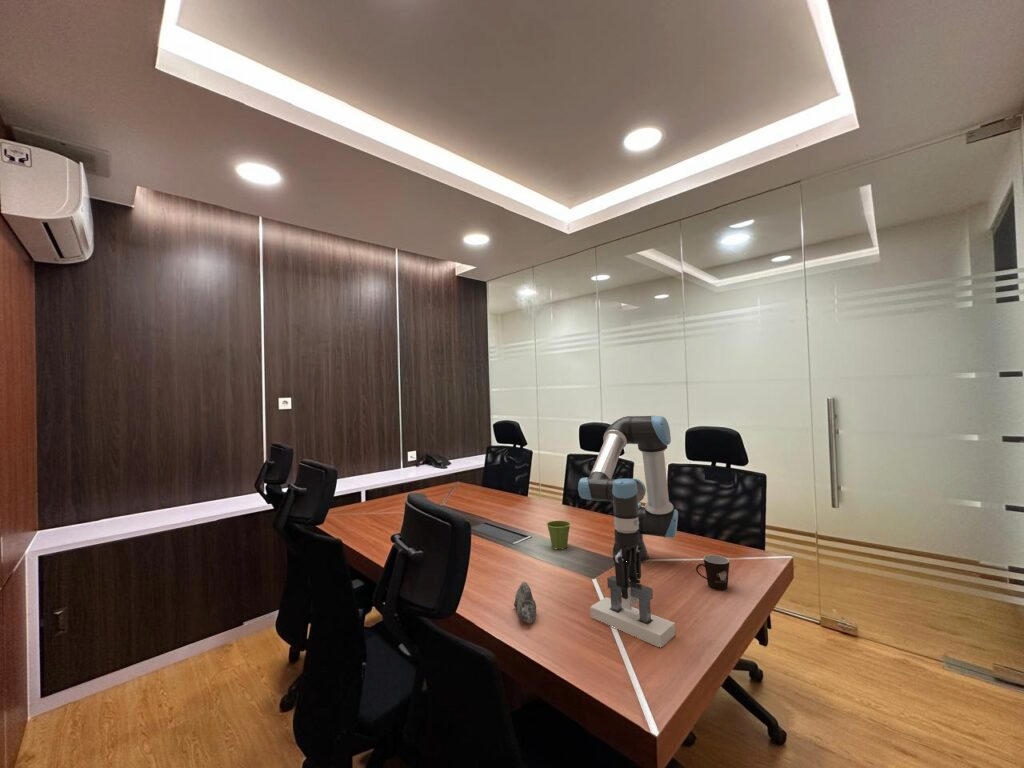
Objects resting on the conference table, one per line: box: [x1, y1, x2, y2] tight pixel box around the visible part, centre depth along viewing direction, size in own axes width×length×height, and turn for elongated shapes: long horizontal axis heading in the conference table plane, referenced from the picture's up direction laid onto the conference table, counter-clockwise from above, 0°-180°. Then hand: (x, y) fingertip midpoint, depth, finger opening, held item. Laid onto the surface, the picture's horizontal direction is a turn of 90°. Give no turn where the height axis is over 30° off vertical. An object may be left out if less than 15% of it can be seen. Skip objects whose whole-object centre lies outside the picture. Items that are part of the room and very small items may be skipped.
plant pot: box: [546, 520, 572, 550], centre depth 199 cm, size 12×12×11 cm
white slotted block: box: [589, 596, 676, 649], centre depth 128 cm, size 24×9×4 cm, turn 43°
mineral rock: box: [513, 581, 537, 624], centre depth 136 cm, size 13×11×10 cm
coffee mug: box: [695, 554, 730, 592], centre depth 153 cm, size 12×9×10 cm
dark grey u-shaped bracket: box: [606, 574, 654, 624], centre depth 128 cm, size 14×3×10 cm, turn 43°
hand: (630, 605), depth 128 cm, fingers closed on dark grey u-shaped bracket, 3 cm apart
